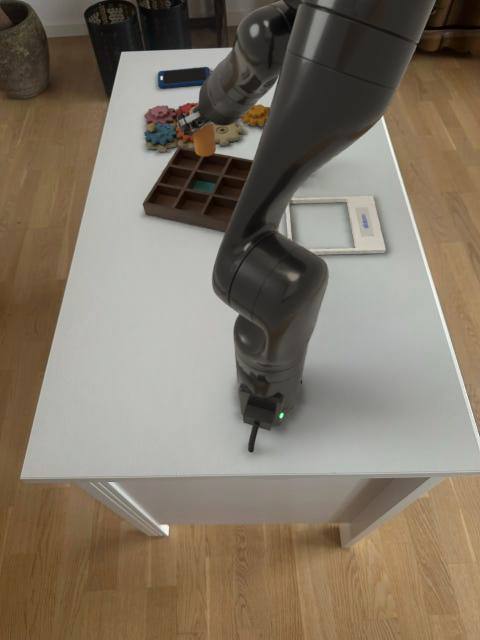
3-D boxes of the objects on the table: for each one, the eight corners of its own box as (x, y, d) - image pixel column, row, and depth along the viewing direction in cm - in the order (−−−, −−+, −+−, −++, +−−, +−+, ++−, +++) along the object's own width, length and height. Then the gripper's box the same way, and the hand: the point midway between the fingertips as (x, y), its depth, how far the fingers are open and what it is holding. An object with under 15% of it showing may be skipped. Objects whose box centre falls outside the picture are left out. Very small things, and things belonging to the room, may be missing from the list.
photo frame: (385, 249, 82) (289, 251, 83) (384, 253, 83) (289, 255, 84) (373, 195, 90) (285, 197, 91) (372, 199, 91) (284, 201, 92)
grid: (232, 233, 88) (231, 223, 85) (145, 214, 91) (142, 203, 89) (260, 172, 97) (260, 161, 95) (180, 157, 101) (178, 146, 98)
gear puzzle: (269, 102, 111) (269, 86, 108) (278, 141, 103) (279, 125, 99) (145, 113, 111) (142, 98, 107) (145, 154, 102) (141, 139, 98)
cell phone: (158, 73, 120) (157, 71, 119) (209, 69, 120) (209, 66, 120) (158, 88, 116) (158, 85, 116) (211, 83, 116) (210, 81, 116)
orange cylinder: (211, 158, 83) (207, 119, 77) (191, 154, 84) (185, 115, 77) (218, 145, 85) (215, 106, 79) (199, 141, 86) (194, 103, 79)
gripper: (203, 133, 66) (174, 160, 81) (278, 98, 70) (237, 130, 85) (179, 82, 64) (154, 120, 79) (258, 49, 68) (219, 92, 83)
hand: (197, 125), depth 82 cm, fingers closed on orange cylinder, 4 cm apart
